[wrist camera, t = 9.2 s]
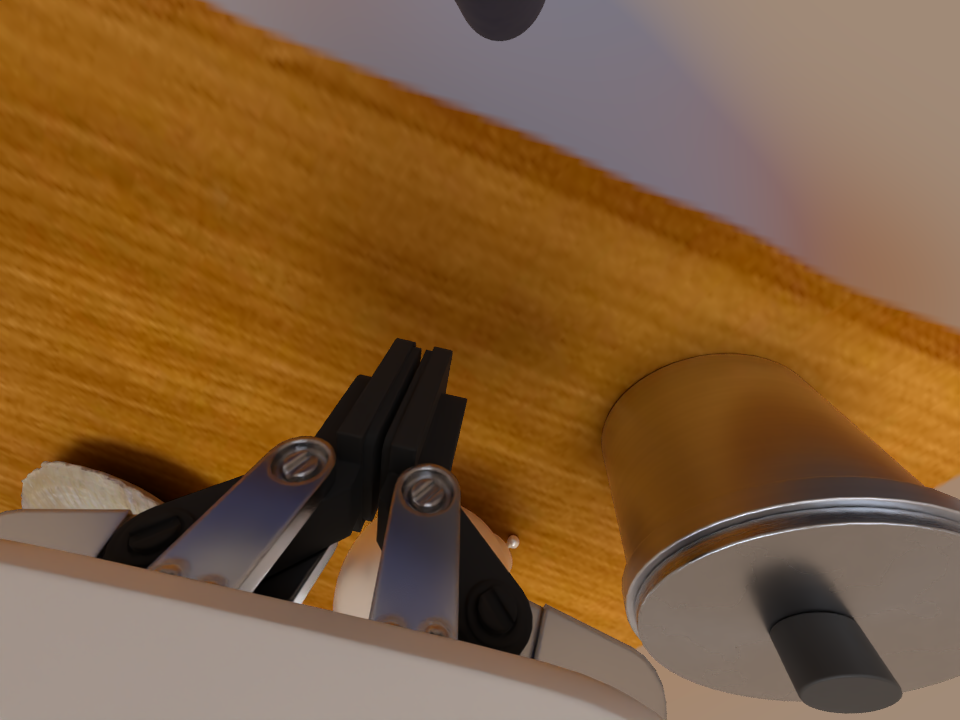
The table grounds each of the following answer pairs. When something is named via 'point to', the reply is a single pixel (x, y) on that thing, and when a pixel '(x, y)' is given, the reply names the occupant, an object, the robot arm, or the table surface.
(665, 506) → the pot
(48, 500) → the seashell
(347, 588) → the figurine
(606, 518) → the table surface
